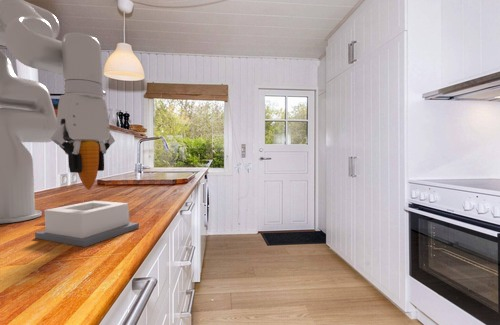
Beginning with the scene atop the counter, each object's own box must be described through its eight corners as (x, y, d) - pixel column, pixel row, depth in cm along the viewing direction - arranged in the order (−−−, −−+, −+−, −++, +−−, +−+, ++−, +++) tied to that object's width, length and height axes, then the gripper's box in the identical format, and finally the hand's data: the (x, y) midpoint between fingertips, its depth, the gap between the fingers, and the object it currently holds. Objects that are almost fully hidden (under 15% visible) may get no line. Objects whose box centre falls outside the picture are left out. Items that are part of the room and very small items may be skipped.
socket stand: (35, 238, 60) (33, 210, 60) (93, 222, 73) (92, 199, 73) (84, 247, 54) (83, 215, 53) (138, 228, 67) (138, 203, 66)
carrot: (89, 191, 60) (86, 123, 59) (70, 191, 61) (67, 123, 60) (105, 188, 65) (102, 124, 64) (88, 187, 66) (84, 125, 65)
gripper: (104, 99, 71) (107, 169, 72) (32, 85, 56) (36, 174, 56) (126, 97, 68) (129, 169, 69) (55, 81, 53) (60, 175, 53)
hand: (87, 170), depth 63 cm, fingers closed on carrot, 4 cm apart
